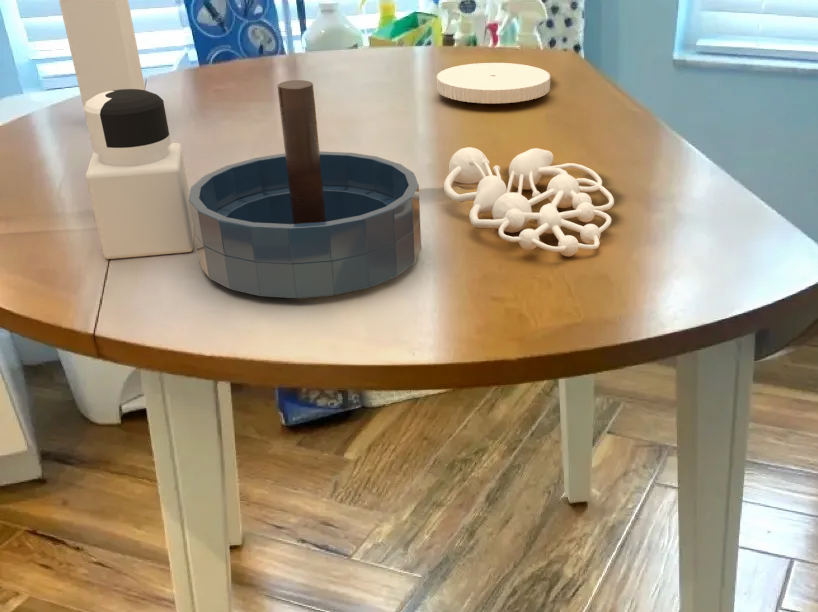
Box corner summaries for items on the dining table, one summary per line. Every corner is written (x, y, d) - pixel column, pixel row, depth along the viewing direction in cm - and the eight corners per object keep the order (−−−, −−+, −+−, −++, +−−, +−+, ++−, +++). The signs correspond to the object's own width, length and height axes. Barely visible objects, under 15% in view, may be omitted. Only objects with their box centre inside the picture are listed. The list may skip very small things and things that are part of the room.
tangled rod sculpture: (647, 268, 79) (657, 219, 76) (476, 269, 76) (481, 219, 73) (578, 184, 94) (585, 141, 92) (434, 183, 91) (436, 139, 89)
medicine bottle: (194, 222, 85) (170, 80, 78) (193, 253, 79) (167, 103, 73) (111, 229, 84) (79, 86, 77) (104, 261, 78) (68, 109, 71)
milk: (140, 125, 111) (97, -94, 98) (86, 127, 110) (36, -93, 98) (149, 111, 116) (110, -100, 103) (98, 112, 115) (52, -99, 103)
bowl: (195, 314, 70) (180, 235, 67) (208, 226, 84) (196, 158, 81) (434, 295, 72) (431, 218, 69) (407, 213, 86) (404, 146, 83)
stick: (285, 264, 76) (264, 93, 68) (285, 243, 79) (265, 78, 72) (341, 260, 76) (326, 90, 69) (338, 239, 80) (323, 75, 72)
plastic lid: (415, 103, 117) (415, 81, 116) (471, 78, 127) (471, 58, 126) (518, 118, 112) (518, 95, 110) (567, 90, 121) (569, 69, 120)
